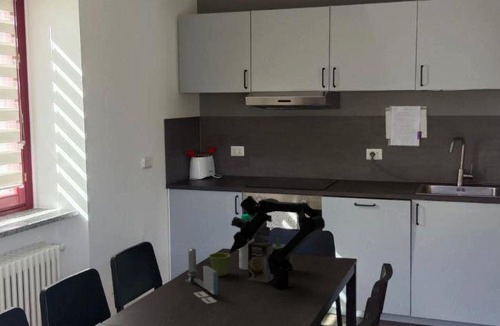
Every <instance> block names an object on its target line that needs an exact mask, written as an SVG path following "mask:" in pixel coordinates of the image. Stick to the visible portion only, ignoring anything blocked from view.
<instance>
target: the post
mask: <svg viewBox="0 0 500 326" xmlns="http://www.w3.org/2000/svg"><path fill="white" fill-rule="evenodd" d="M187 251H188V252H187V253H188V256H187V258H188V272H187V273H186V275H187V276H188V278H187V279H185V282H186V283H187V284H189V285H190V284H197V283H196V282H194V277H197V276H199V272H198V271H197V249H196V248H189V249H188V250H187Z"/></svg>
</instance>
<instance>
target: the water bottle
mask: <svg viewBox="0 0 500 326" xmlns="http://www.w3.org/2000/svg"><path fill="white" fill-rule="evenodd" d="M251 217H252V215H248V214H247V213H243V214H241V216H240V218H241V219H243V220H245V221H248V220H250V219H251ZM240 229H241V228H238V232H239V231H241V230H240ZM254 241H255V237H254V238H253V239H252V240H251V241H249V242H248V243H247V244H246V245H245V246H244V247H242V248H240V249H238V251H239V255H238V259H239V261H238V262H239V263H238V265H239V266H238V267H239V269H241V270H243V271H248V244H249V243H251V242H254Z"/></svg>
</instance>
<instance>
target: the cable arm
mask: <svg viewBox="0 0 500 326" xmlns="http://www.w3.org/2000/svg"><path fill="white" fill-rule="evenodd" d="M202 268H203V269H202V270H203V276H202V277H203V281H202V280H201V279H200V278H199V277H197V276H196V277H194V282H196V283H195V284H197V285H199V286H200V287H201V288H203V289H205V290H206V291H208V292H209V293H211V294H212V295H214V296H215V295H219V291H218V290H219V287H218V286H219V285H218V282H219V281H218V276H217V272H216V271H215V270H213V269H212V267H210V266H208V265H203V266H202Z"/></svg>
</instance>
